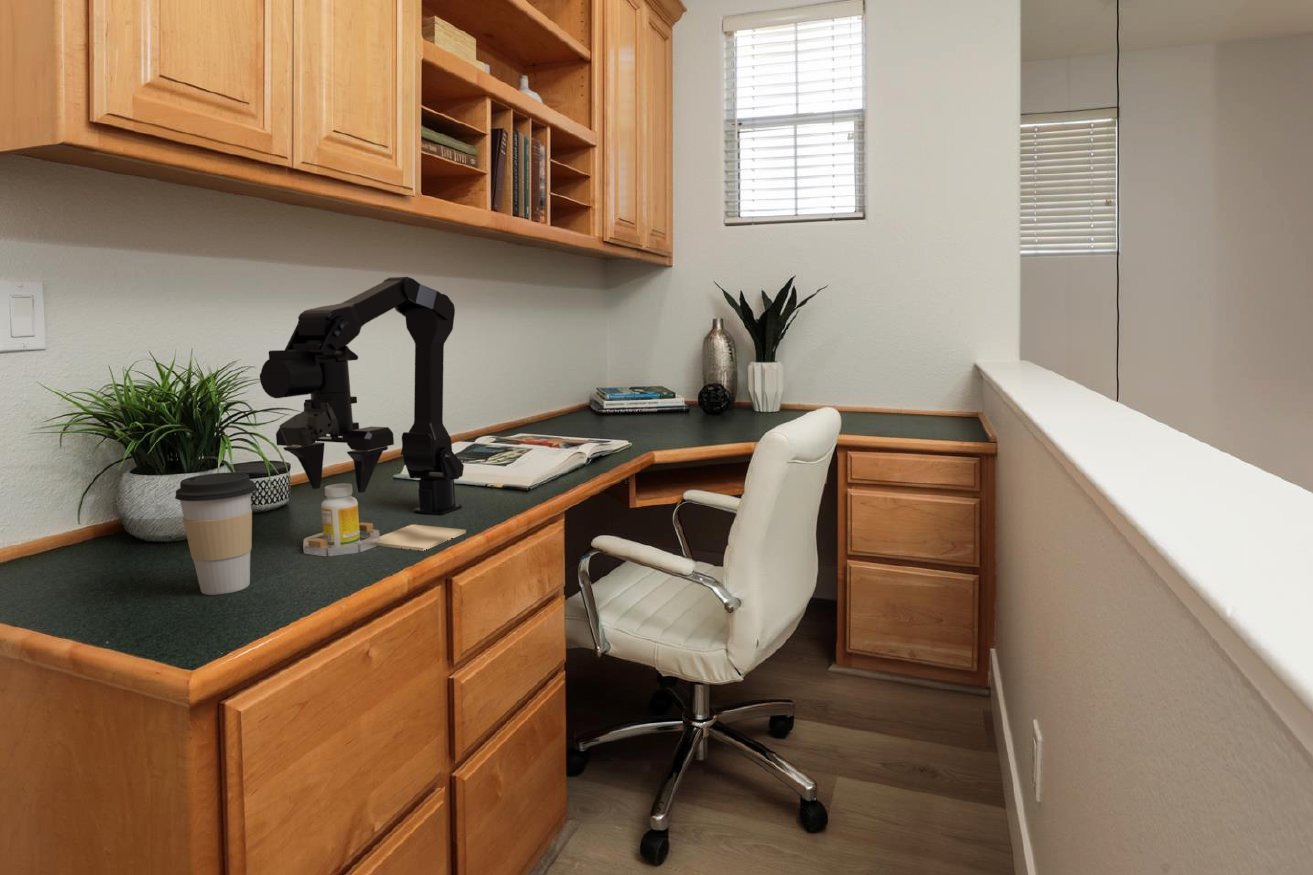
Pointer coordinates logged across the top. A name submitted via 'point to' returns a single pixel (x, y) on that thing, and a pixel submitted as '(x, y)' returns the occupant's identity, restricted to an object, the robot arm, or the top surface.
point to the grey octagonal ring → (321, 548)
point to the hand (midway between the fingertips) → (338, 490)
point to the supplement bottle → (340, 515)
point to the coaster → (418, 537)
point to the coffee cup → (219, 529)
